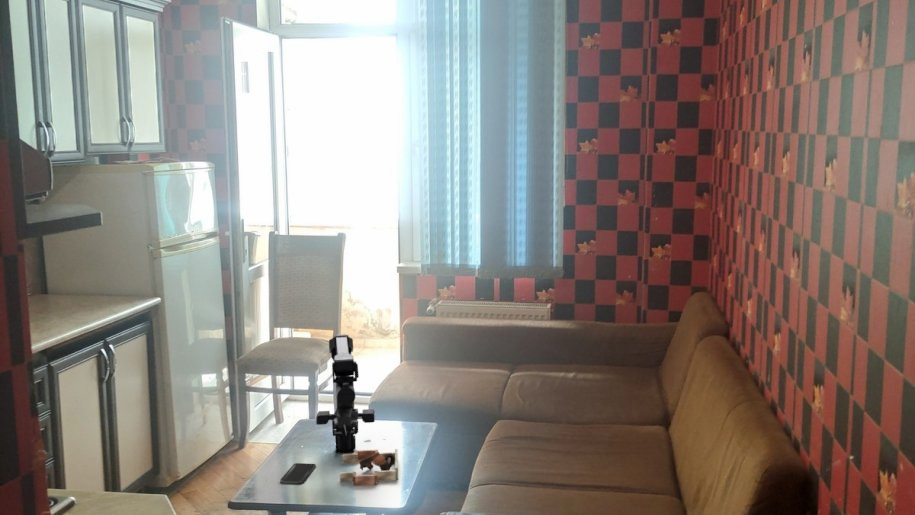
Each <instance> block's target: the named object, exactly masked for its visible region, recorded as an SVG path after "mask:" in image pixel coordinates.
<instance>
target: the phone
mask: <svg viewBox="0 0 915 515" xmlns="http://www.w3.org/2000/svg"><path fill="white" fill-rule="evenodd" d="M316 468H317V464H316V463H303V462H297V463H293V465H292V466H290V468H289V469H288V470H287V471H286V473H285V474H284V475H283V476H282V477H281V479H280V480H279V482H280V483H281V484H285V485H302V484H304V483H305V482H306V481H307V480H308V479H309V477H310V476H311V474H312V473H313V472H314V470H315V469H316Z"/></svg>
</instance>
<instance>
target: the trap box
mask: <svg viewBox="0 0 915 515" xmlns="http://www.w3.org/2000/svg"><path fill="white" fill-rule="evenodd" d="M376 452H379V449H362V450H355V451H354V453H342V464H346V465H347V464H360V463H359V462H360V461H361V460H363V459H365V458H368V457H369V456H371V455H373V454H374V453H376ZM388 453H392V454H393V455H394V456H395V463H394V465H395V466H394V467H395V468H394V470H393V469H392V470H391V469H390V470H387V471H381V470H375V471H374V472H373V474H364V475H357V474H356V471H347V472H346V471H345V472H339V482H340V483H352V486H353V487H359V486H377V485H378V482H380V481H381V482H382V481H398V480H399V469H398V468H399V463H398V462H399V461H398V458H399V456H398V448H395V449H394V451H392V452H379V454H380V455H386V454H388ZM390 461H391V458H390V457H389V458H388V460H387V462H388V463H390ZM371 463H372V464H373V463H374V461H372V462H371Z"/></svg>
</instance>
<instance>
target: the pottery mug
mask: <svg viewBox="0 0 915 515" xmlns="http://www.w3.org/2000/svg"><path fill="white" fill-rule="evenodd" d="M379 453H380V452H379V451H378V452H376V453H374V454H373V455H371V456H369V457H368V458H365V459H363V460H361V461H360V462H359V463H358V464H360V466H359V469H360V470H361V471H363V470H364V468H365V469H366V468H367V469H368V470H369V471H370V470H371V471H372V469H373V468H374V465H375V466H377V467H379V468H380V471H387V470H391V468H392V467H393V466H394V465H395V456H394V455H393V454H392V453H388V454H386V455H380V454H379ZM389 457H390V458H391V461H390V462H387V460H388V458H389ZM372 461H374V462H372ZM371 462H372V463H371ZM373 463H374V464H373Z"/></svg>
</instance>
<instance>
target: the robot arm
mask: <svg viewBox="0 0 915 515" xmlns="http://www.w3.org/2000/svg"><path fill="white" fill-rule="evenodd" d="M353 352H354V340H353V338H352V337H350V336H349V334H346V333H345V334H335V335H333V337H332V338H330V339H328V354H331V355H330V358H331V359H332V360H333V361H332V362H331V367H332V368H331V369H332V370H331V373H332V382H333V384H335V396H336V409H335V411H334V413H331V412H330V410H321V411H318V412H317V413H316V417H315V418H316V419H315V422H316V425H327V424H328V423H329V421H331V428H332V429H331V430H332V431H331V432H332V433H331V434H332V437H335V438H334V439H335V440H334V441H335V452H334V453H335V454H354V453H355V450H356V448H357V445H356V435H357V434H358V433H359V420H362V422H363V423H365V424H366V423H367V424H370V423H374V422H375V421H376V420H375V418H376V416H375V412H376V411H375V410H374V409H373V408H371V409H370V408H369V409H365V408H364V409H362V412H359V408H355V400H356V392H355V388H354V387H355V386H354V385H355V384H354V383H355V382H358V379H359V377H360V376H359V365H358V363H357V361H356V360H354V356H353V354H352V353H353Z"/></svg>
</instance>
